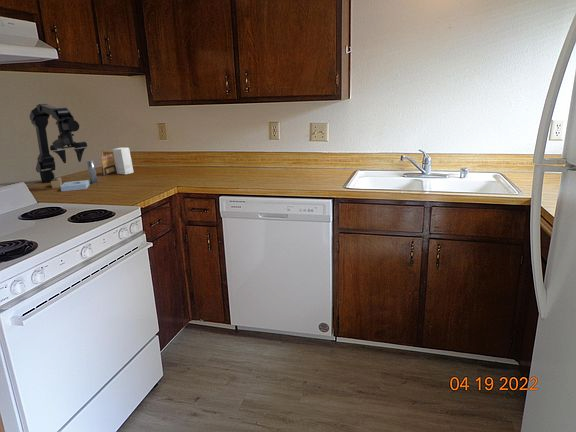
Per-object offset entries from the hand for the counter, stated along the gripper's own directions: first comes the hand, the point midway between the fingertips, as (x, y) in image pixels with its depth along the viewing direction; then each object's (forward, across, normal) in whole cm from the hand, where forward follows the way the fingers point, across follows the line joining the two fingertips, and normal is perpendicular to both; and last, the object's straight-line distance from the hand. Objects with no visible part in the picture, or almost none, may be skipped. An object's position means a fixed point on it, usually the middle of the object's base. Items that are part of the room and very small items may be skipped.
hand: (72, 162), depth 222 cm
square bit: (+12, -15, +3) cm, 20 cm away
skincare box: (+13, +4, +37) cm, 39 cm away
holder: (+13, 0, -1) cm, 13 cm away
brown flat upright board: (+12, -5, +35) cm, 38 cm away
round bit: (+13, +2, +10) cm, 17 cm away
